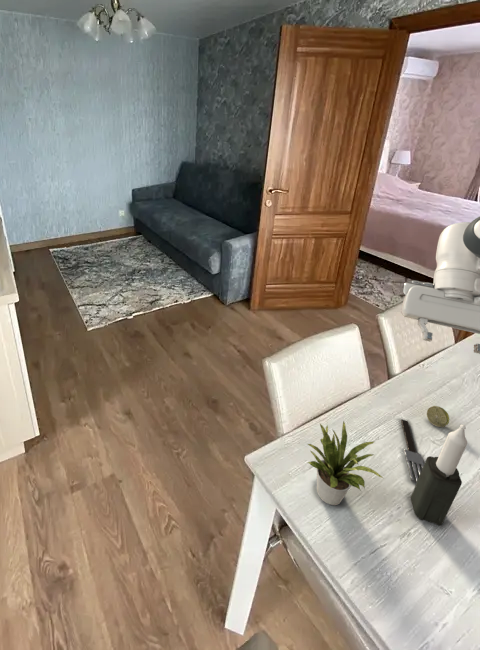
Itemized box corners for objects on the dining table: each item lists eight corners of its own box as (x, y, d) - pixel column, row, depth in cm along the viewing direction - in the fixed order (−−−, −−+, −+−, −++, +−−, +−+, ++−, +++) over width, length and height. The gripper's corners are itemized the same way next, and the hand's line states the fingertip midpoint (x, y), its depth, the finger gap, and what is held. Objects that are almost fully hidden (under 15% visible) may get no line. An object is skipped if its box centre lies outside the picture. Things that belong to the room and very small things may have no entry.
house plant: (380, 496, 76) (399, 444, 70) (357, 548, 67) (376, 494, 61) (318, 453, 86) (329, 404, 79) (290, 493, 77) (301, 441, 70)
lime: (446, 432, 91) (452, 419, 89) (424, 423, 94) (429, 409, 92) (446, 421, 94) (452, 408, 93) (425, 412, 97) (430, 399, 95)
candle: (415, 518, 72) (452, 432, 63) (409, 494, 77) (442, 410, 67) (444, 527, 71) (486, 441, 61) (436, 502, 75) (474, 418, 66)
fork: (411, 423, 94) (412, 422, 94) (428, 486, 78) (429, 485, 78) (396, 419, 95) (397, 418, 95) (410, 480, 79) (411, 479, 79)
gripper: (407, 274, 82) (401, 330, 77) (520, 294, 73) (520, 359, 69) (401, 282, 87) (394, 335, 83) (505, 302, 78) (504, 363, 74)
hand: (452, 346), depth 76 cm, fingers open, 8 cm apart
